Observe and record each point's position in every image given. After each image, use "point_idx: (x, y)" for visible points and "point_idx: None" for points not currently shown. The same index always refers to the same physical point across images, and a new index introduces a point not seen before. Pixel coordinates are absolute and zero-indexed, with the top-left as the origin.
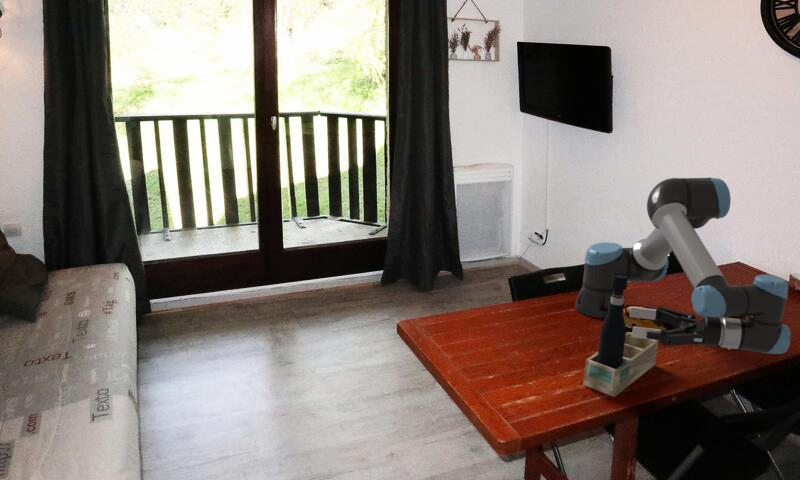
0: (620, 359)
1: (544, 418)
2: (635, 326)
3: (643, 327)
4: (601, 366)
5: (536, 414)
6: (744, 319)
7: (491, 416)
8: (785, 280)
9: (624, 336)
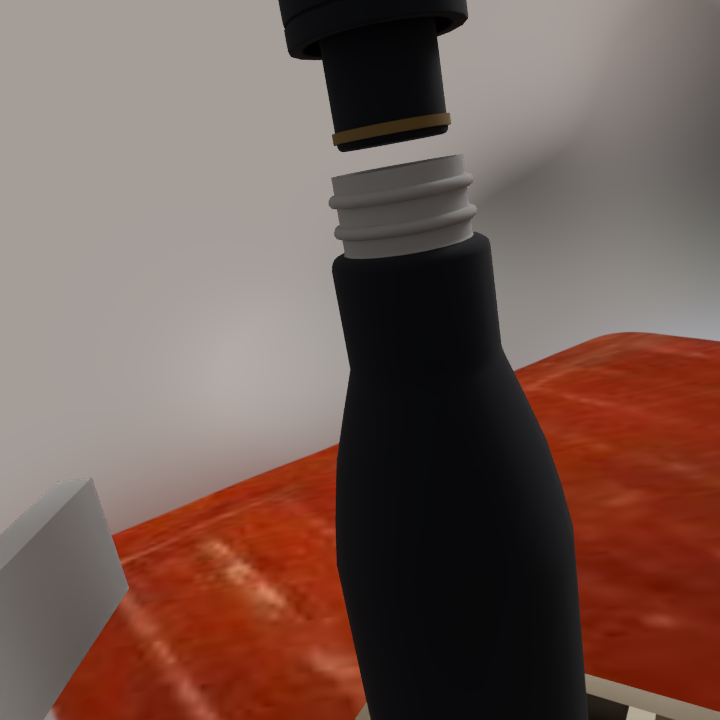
0: None
1: (110, 649)
2: (76, 491)
3: (16, 551)
4: (359, 718)
5: (143, 624)
6: None
7: (146, 536)
8: None
9: (396, 626)
